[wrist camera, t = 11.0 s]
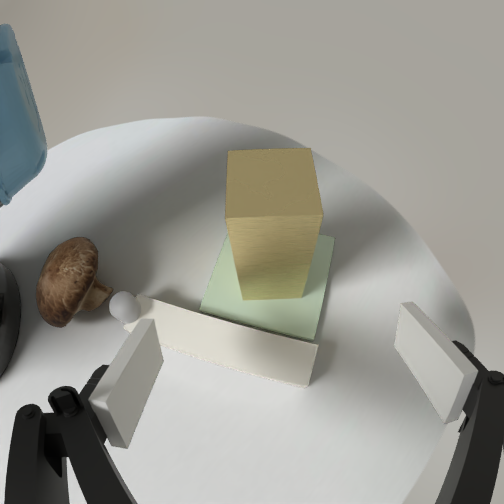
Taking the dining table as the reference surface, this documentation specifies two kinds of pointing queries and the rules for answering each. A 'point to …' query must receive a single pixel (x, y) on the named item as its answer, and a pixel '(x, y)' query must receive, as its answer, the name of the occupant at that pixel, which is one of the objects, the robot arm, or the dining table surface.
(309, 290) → the plate
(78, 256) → the mushroom
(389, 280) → the dining table surface
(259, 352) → the door edge
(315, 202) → the block
